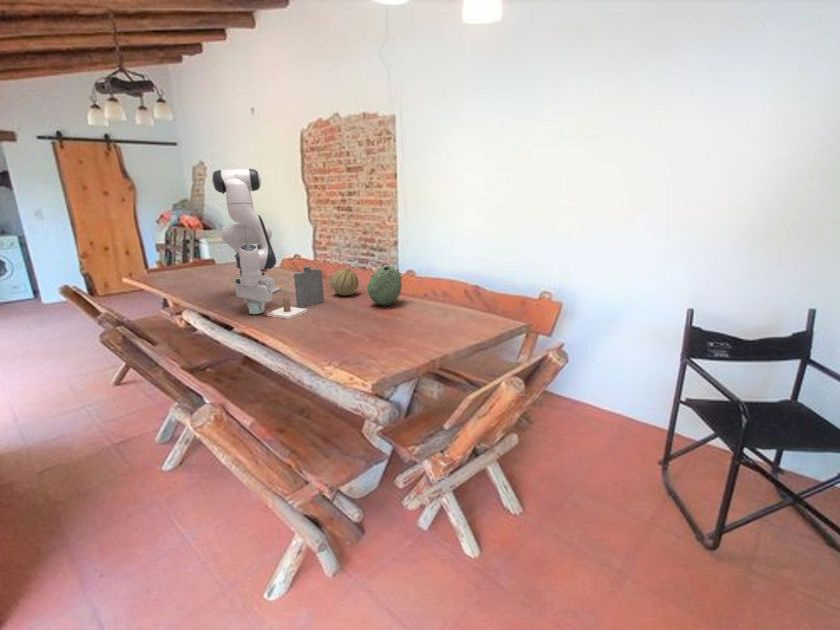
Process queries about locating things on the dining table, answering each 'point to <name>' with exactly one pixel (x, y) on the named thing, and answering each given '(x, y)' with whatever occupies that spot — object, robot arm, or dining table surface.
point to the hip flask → (308, 287)
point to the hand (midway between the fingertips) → (256, 308)
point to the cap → (255, 307)
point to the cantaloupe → (344, 282)
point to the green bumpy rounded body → (385, 285)
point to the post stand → (287, 310)
